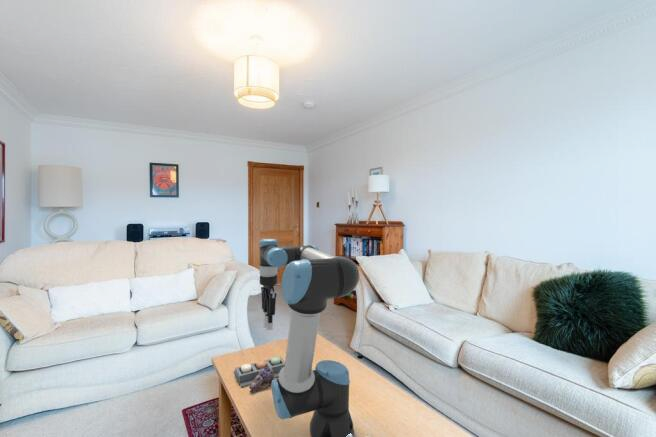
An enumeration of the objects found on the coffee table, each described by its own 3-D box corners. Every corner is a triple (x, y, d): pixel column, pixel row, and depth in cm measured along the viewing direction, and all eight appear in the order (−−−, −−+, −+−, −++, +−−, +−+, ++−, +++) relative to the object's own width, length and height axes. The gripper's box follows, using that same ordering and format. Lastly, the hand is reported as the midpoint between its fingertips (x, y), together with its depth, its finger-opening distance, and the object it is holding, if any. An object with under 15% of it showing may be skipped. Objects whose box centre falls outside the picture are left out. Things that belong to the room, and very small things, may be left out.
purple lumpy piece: (254, 396, 125) (254, 382, 124) (243, 386, 130) (244, 373, 129) (277, 382, 134) (277, 370, 133) (266, 374, 139) (267, 362, 138)
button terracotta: (267, 368, 141) (267, 363, 141) (258, 371, 138) (258, 366, 138) (264, 364, 144) (264, 359, 144) (255, 366, 142) (255, 361, 142)
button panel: (289, 374, 141) (289, 366, 141) (241, 387, 130) (241, 379, 130) (278, 360, 153) (278, 353, 153) (233, 372, 142) (233, 364, 142)
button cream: (252, 372, 137) (252, 367, 137) (242, 375, 135) (242, 369, 135) (249, 368, 141) (249, 363, 141) (240, 370, 139) (240, 365, 139)
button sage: (281, 364, 144) (281, 359, 144) (272, 367, 142) (272, 362, 142) (278, 360, 148) (278, 355, 148) (269, 362, 146) (269, 358, 146)
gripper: (283, 277, 127) (282, 333, 128) (270, 270, 140) (270, 320, 141) (266, 279, 123) (265, 336, 124) (254, 272, 137) (254, 323, 138)
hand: (268, 328), depth 133 cm, fingers open, 3 cm apart
